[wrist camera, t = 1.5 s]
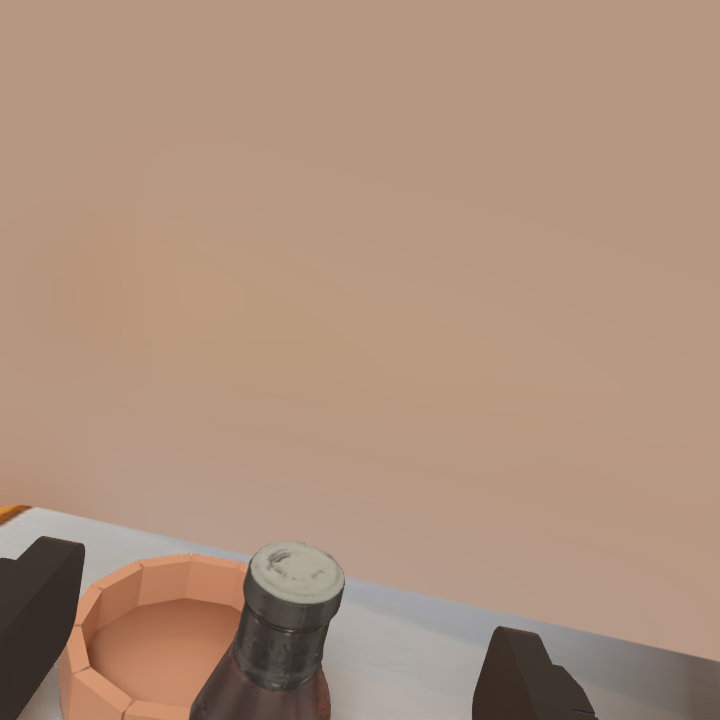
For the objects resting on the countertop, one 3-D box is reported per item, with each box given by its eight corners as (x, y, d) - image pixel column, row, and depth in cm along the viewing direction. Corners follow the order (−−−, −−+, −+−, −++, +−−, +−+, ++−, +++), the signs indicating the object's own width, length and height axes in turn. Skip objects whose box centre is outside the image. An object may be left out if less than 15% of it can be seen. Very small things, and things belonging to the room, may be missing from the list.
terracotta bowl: (301, 619, 51) (312, 574, 50) (285, 799, 35) (300, 739, 34) (112, 588, 50) (119, 540, 48) (9, 761, 34) (16, 697, 33)
